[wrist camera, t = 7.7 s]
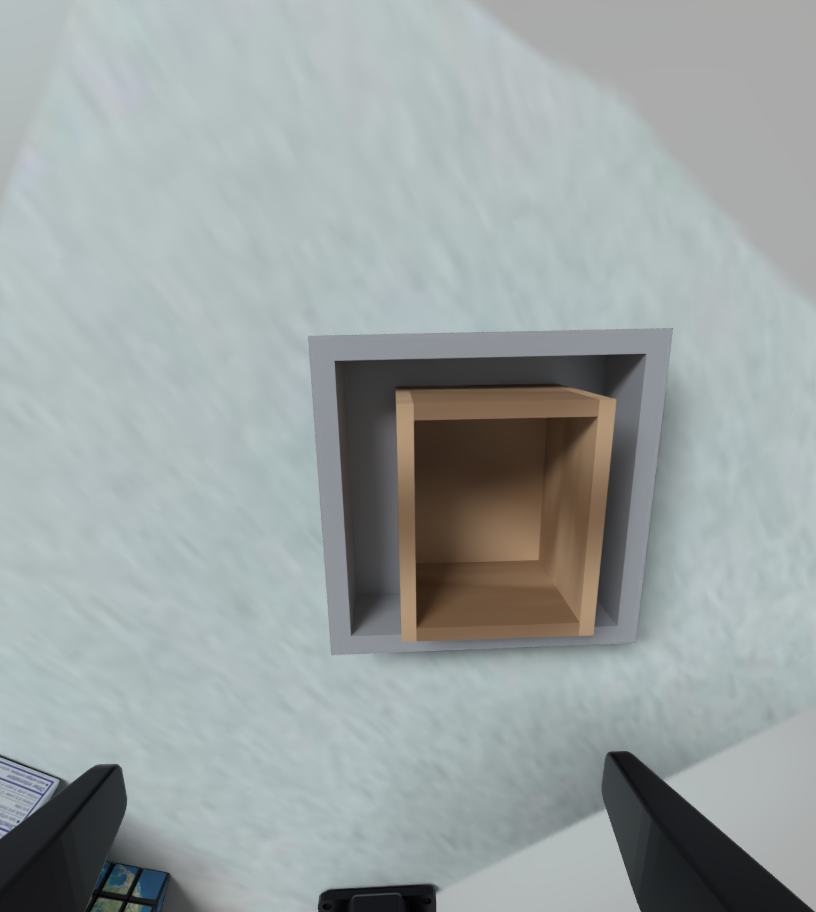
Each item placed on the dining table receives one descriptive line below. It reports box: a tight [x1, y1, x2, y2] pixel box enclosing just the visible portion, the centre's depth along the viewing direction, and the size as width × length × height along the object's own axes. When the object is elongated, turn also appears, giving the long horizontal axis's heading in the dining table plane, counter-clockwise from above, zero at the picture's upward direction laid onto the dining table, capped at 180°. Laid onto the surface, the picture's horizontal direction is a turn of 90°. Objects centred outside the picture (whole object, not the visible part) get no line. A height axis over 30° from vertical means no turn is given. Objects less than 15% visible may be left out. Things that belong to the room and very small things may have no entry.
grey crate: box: [308, 328, 673, 655], centre depth 18 cm, size 12×12×4 cm
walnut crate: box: [395, 384, 616, 642], centre depth 17 cm, size 8×6×5 cm
